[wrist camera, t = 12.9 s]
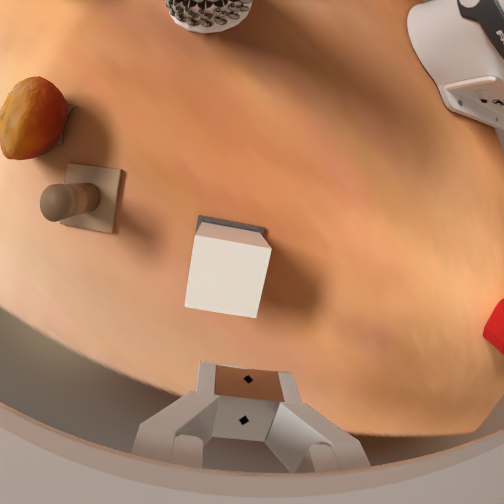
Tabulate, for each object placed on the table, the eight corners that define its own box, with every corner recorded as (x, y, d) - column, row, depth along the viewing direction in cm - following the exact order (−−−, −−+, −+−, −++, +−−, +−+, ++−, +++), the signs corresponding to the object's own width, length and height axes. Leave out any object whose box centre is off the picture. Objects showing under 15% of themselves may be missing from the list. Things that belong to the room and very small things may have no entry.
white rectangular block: (259, 232, 27) (271, 248, 20) (248, 287, 28) (255, 318, 21) (201, 221, 26) (195, 234, 20) (192, 277, 27) (184, 306, 21)
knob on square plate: (122, 169, 25) (91, 166, 18) (113, 232, 26) (82, 248, 20) (69, 163, 24) (30, 160, 18) (62, 223, 26) (23, 235, 19)
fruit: (79, 164, 23) (3, 159, 16) (46, 161, 26) (-15, 158, 19) (97, 81, 22) (27, 62, 14) (61, 92, 25) (2, 81, 17)
